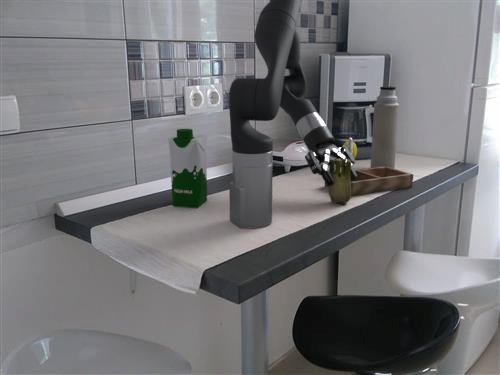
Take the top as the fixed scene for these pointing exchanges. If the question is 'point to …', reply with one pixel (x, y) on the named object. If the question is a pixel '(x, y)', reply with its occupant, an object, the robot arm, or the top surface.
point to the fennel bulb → (340, 181)
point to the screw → (350, 146)
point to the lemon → (352, 148)
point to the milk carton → (188, 168)
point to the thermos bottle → (385, 129)
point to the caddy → (379, 180)
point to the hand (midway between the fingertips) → (343, 182)
